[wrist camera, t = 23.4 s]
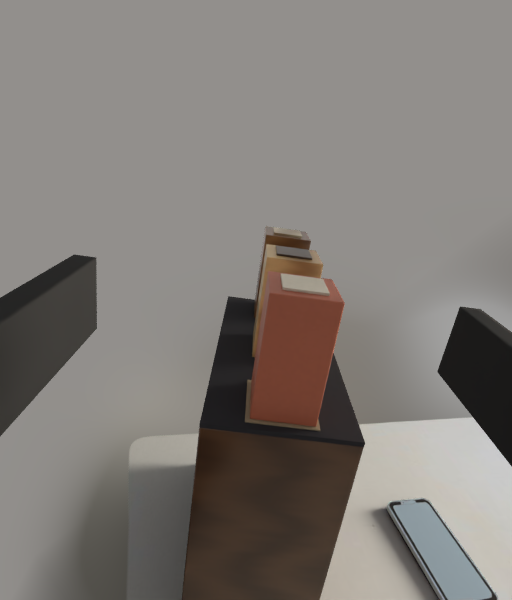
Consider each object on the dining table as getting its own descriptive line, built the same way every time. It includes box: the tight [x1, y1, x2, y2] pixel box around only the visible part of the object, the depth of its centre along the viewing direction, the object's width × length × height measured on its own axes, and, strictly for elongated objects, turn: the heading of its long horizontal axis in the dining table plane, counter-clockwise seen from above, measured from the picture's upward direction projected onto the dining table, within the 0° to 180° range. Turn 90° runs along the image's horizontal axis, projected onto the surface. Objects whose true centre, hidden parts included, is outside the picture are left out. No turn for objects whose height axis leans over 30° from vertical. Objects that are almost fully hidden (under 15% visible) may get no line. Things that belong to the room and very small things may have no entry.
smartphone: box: [387, 498, 499, 600], centre depth 53 cm, size 7×1×15 cm
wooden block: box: [254, 227, 311, 318], centre depth 48 cm, size 5×5×10 cm
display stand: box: [182, 428, 363, 600], centre depth 46 cm, size 12×26×28 cm, turn 179°
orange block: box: [250, 271, 345, 427], centre depth 30 cm, size 5×5×10 cm
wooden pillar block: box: [252, 244, 323, 357], centre depth 39 cm, size 5×5×10 cm
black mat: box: [200, 297, 365, 447], centre depth 41 cm, size 12×26×1 cm, turn 179°
